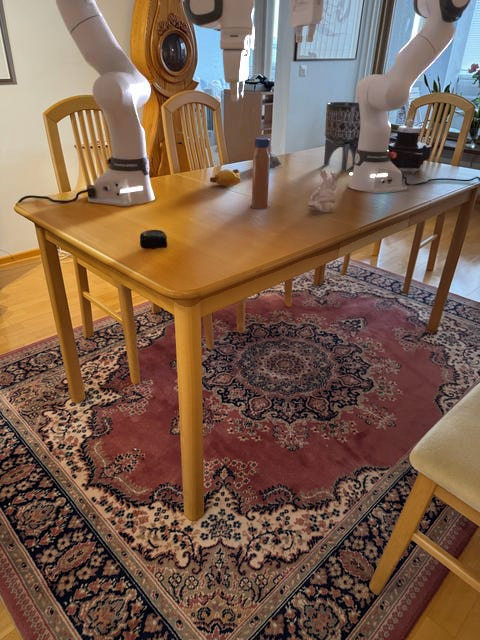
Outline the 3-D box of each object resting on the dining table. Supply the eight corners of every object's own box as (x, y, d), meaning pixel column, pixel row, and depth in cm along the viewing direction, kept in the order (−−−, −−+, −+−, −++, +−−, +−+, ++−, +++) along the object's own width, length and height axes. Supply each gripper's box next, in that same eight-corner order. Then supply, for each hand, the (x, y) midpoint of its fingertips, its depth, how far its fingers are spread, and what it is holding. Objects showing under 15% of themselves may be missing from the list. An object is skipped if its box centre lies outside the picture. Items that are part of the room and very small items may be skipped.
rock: (272, 163, 212) (273, 149, 209) (285, 167, 207) (286, 152, 203) (250, 167, 205) (251, 152, 201) (264, 171, 199) (264, 155, 196)
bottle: (268, 205, 154) (272, 139, 143) (265, 209, 149) (268, 141, 139) (253, 203, 155) (255, 138, 144) (249, 208, 151) (251, 140, 140)
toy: (207, 178, 170) (214, 169, 182) (213, 195, 173) (220, 184, 185) (234, 169, 167) (240, 160, 179) (240, 186, 169) (245, 176, 182)
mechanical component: (377, 119, 195) (405, 114, 215) (369, 169, 206) (397, 160, 225) (427, 124, 183) (452, 118, 203) (415, 177, 194) (441, 167, 213)
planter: (313, 167, 208) (319, 103, 195) (331, 160, 222) (338, 101, 209) (353, 173, 199) (362, 107, 185) (369, 166, 213) (379, 104, 199)
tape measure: (140, 252, 115) (139, 238, 113) (141, 242, 120) (140, 229, 119) (167, 251, 116) (166, 237, 114) (167, 241, 121) (166, 228, 120)
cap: (270, 145, 144) (270, 137, 143) (267, 148, 140) (267, 140, 139) (256, 144, 145) (256, 136, 144) (253, 147, 141) (253, 139, 140)
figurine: (341, 207, 153) (346, 168, 147) (322, 218, 142) (326, 176, 136) (319, 203, 157) (323, 165, 150) (299, 213, 146) (302, 173, 140)
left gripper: (231, 43, 129) (231, 97, 136) (218, 40, 111) (219, 102, 118) (253, 43, 128) (252, 97, 135) (244, 40, 111) (243, 103, 118)
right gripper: (331, -14, 132) (325, 41, 139) (306, -6, 149) (302, 43, 156) (310, -15, 131) (306, 41, 138) (287, -7, 148) (284, 42, 155)
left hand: (237, 100), depth 127 cm, fingers open, 8 cm apart
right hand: (304, 42), depth 147 cm, fingers open, 8 cm apart
